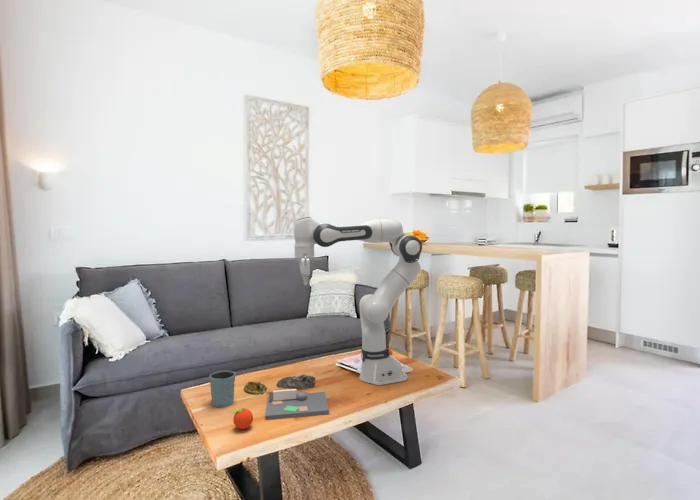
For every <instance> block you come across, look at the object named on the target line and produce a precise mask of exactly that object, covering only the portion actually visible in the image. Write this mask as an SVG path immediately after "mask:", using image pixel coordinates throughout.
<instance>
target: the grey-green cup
mask: <svg viewBox="0 0 700 500" xmlns="http://www.w3.org/2000/svg"><path fill="white" fill-rule="evenodd" d="M235 381H236V372H235V371H232V370H228V369H227V370H218V371H214V372H213V373H212V372H211V374H209V384H210V385H209V386H210V394H211V396H210V397H211V405H212V406H213V407H215V408H225V407H228V405H229V406H231V405H233V404H234V401H235V398H234V397H235V385H236V384H235Z"/></svg>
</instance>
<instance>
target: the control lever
mask: <svg viewBox="0 0 700 500" xmlns="http://www.w3.org/2000/svg"><path fill="white" fill-rule="evenodd" d="M307 393H308V392H307V391H303V390H298V391H297V389H289V388H287V389H277V390H268V396H269V401H275V400H287V399H297V400H305V399H307Z"/></svg>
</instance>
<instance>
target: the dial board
mask: <svg viewBox="0 0 700 500" xmlns="http://www.w3.org/2000/svg"><path fill="white" fill-rule="evenodd" d="M266 397H267V398H266V406H265V415H264V419H265V420H266V421H267V420H276V419H288V418H289V419H291V418H297V417H298V418H300V417H311V416H321V415H322V416H323V415H330V410H329V409H330V408H329V405H328V401H327V400H328V399H327V396H326V392H325V391H317V392H307V399H305V400H297V399H287V400H275V401H269V395H268V396H266Z"/></svg>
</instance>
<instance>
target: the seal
mask: <svg viewBox="0 0 700 500" xmlns="http://www.w3.org/2000/svg"><path fill="white" fill-rule="evenodd" d="M267 390H268V388H267V386H266V385H265V384H263V383H261V381H258V382H257V381H255V382H254V381H248V382H247V383H246V384H245V385H244V386H243V391H244V392H245V393H247V394H249V395H255V396H261V395H264V394H266V392H267Z"/></svg>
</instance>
